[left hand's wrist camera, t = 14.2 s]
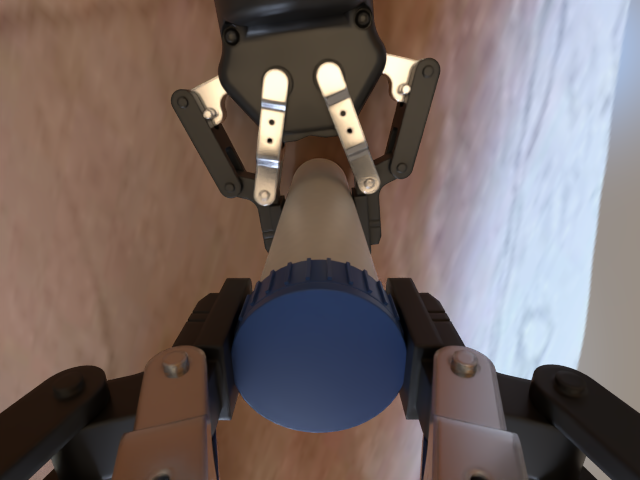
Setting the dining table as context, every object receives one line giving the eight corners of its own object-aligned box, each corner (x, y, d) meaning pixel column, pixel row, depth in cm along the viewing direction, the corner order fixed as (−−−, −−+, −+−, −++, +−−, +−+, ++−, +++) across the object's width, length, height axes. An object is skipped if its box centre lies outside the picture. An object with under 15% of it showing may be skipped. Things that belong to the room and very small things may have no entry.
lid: (212, 286, 10) (193, 320, 9) (371, 232, 10) (380, 259, 8) (276, 405, 12) (269, 452, 10) (415, 365, 11) (431, 408, 10)
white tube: (283, 169, 27) (212, 315, 9) (336, 149, 27) (371, 263, 9) (303, 219, 29) (276, 430, 11) (354, 201, 28) (415, 392, 10)
